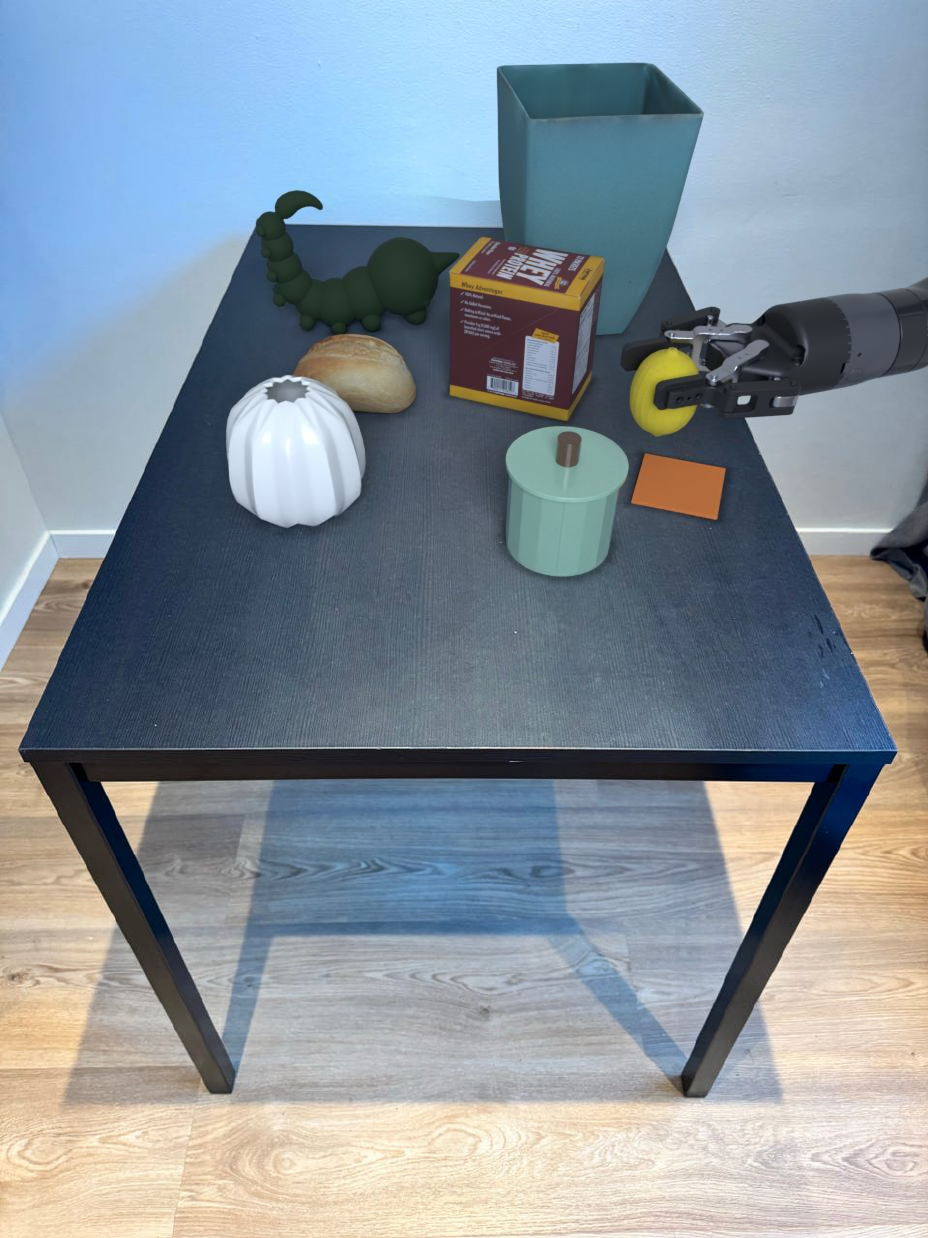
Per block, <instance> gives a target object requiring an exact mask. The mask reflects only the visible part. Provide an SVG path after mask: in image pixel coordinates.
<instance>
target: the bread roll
mask: <svg viewBox="0 0 928 1238" xmlns="http://www.w3.org/2000/svg"><path fill="white" fill-rule="evenodd" d="M291 375H294V376H297V377H300V376H303V377H307V378H310V379H313V380H316V381H319V382H321V383H323V384H326V385H328V386H329V387H331V388H333V389H335V390H336V392H337V394H338V396H339V397H340V398H341V399H342V400H344V401H345V402H346V403H347V404H348V405H349V407H350V408H351V410H352V412H364V413H373V414H376V413H377V414H399V413H400V412H403V411H405V410H407V409H408V408H409V407H410V406H411V405H412V404H413V403H414V401H415V400H416V397H417V386H416V383H415V380H414V377H413V374H412V372H411V371H410V369H409V367H408V365H407V364H406V362H405V359H404V357H403V355H401V354H400V353H399V352H398V351H397V349H396V348H394V346H393V345H391V344H390V343H388V342H387V341H384V340H382V339H380V338H378V337H375V336H371V335H366V334H357V333H345V334H341V335H335V334H333V335H330V336H326V337H325V338H323V339H321V340H320V341H318V342H316V343H314V344H313V345H312V346H311V348H310V349H309V350H307V353H305V354H304V355H303V356H302V358H301V359H300V360H299V361H298V363H297V365H296V366H295V369H294V371H293V373H292V374H291Z"/></svg>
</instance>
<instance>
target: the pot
mask: <svg viewBox="0 0 928 1238" xmlns="http://www.w3.org/2000/svg"><path fill="white" fill-rule="evenodd" d="M620 493H621V487H620V488H619V489H618V490H616V491H615V492H614V493H612V494H610V495H608V496H606V497H604V498H601V499H598V500H594V501H589V502H581V503H564V502H556V501H551V500H547V499H543V498H540V497H537V496H535V495H533V494H530V493H529V492H527V491H525V490H523V489H522V488H521V487H519V486H518V485H517V484H516V483H515V482H514V481H513V480H512V479H511V477H510V476H509V475H508V485H507V501H506V517H505V531H504V533H505V544H506V547H507V550H508V552H509V554H510V555H511V557H512V558H513V559H514V560H515V561H516V562H518V563H519V565H521V566H523V567H524V568H526V569H528V570H530V571H532V572H535V573H538V574H542V575H545V576H551V577H572V576H573V577H574V576H579V575H582V574H586V573H588V572H590V571H592V570H594V569H596V568H597V567H599V566H600V565H601V564H602V563H603V562H604V561H605V559H607V556H608V554H609V550H610V547H611V543H612V539H613V538H612V537H613V532H614V526H615V521H616V515H617V509H618V503H619V498H620V497H619V496H620Z"/></svg>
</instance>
